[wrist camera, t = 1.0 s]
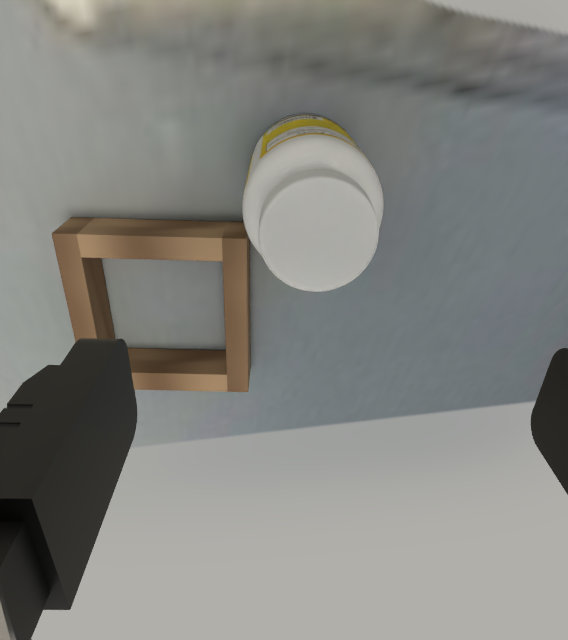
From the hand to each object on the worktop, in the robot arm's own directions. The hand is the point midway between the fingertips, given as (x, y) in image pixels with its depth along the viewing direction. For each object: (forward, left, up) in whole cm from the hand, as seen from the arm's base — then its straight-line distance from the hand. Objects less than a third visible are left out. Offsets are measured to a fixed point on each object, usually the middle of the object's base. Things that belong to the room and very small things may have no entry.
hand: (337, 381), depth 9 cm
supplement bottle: (0, 0, -18) cm, 18 cm away
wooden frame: (+7, +7, -17) cm, 20 cm away
